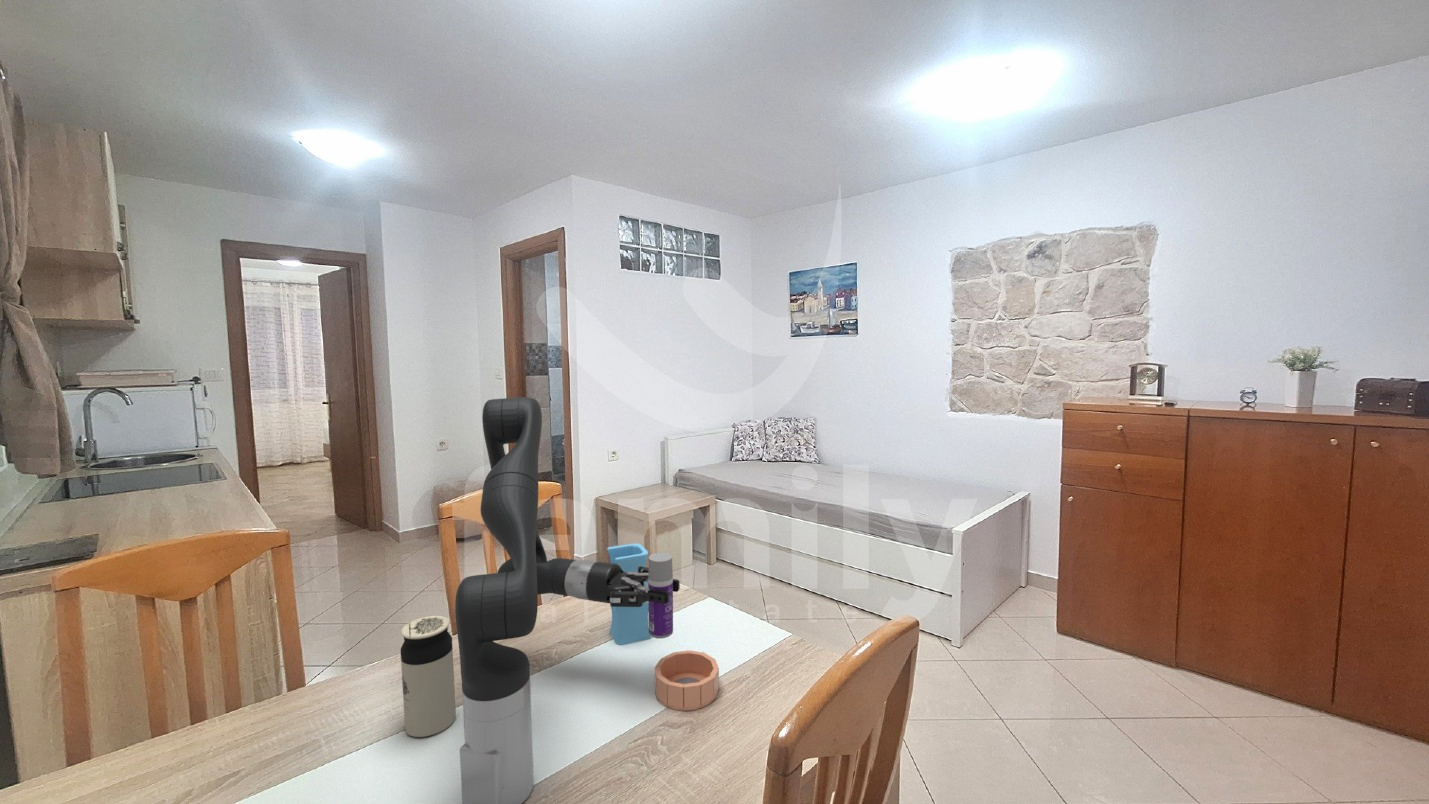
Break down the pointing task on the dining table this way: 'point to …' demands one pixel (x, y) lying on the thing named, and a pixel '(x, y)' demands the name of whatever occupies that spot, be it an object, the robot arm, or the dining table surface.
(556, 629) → the dining table surface
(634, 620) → the vase
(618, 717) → the dining table surface
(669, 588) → the container
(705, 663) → the faceted terracotta pot
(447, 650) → the travel mug
